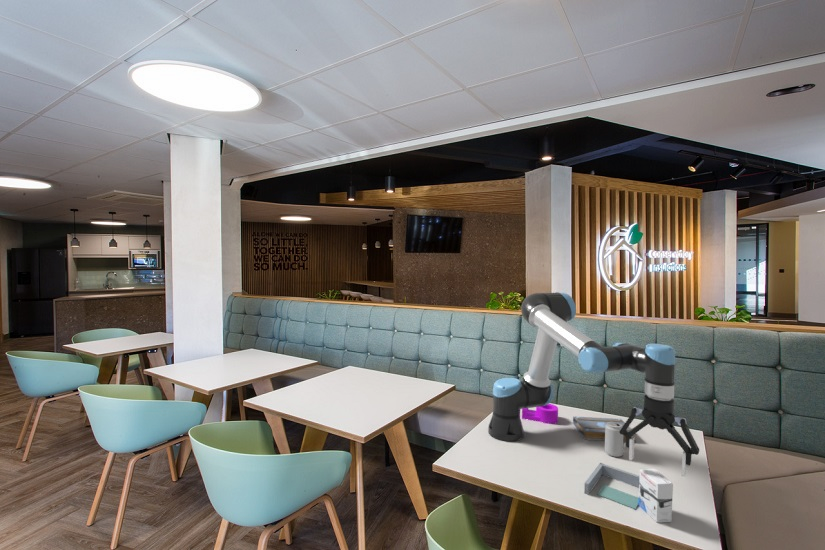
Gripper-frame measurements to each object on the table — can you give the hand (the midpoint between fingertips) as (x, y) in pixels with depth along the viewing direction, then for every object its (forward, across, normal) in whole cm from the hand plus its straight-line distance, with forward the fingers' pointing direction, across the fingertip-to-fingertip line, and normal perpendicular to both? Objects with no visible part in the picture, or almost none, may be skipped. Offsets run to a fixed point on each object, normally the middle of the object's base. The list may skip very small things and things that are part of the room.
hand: (656, 466), depth 117 cm
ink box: (+15, 0, 0) cm, 15 cm away
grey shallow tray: (+15, -28, +49) cm, 58 cm away
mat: (+14, -10, +2) cm, 18 cm away
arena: (+14, -11, +5) cm, 19 cm away
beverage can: (+14, -19, +31) cm, 39 cm away
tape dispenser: (+14, -55, +44) cm, 72 cm away
